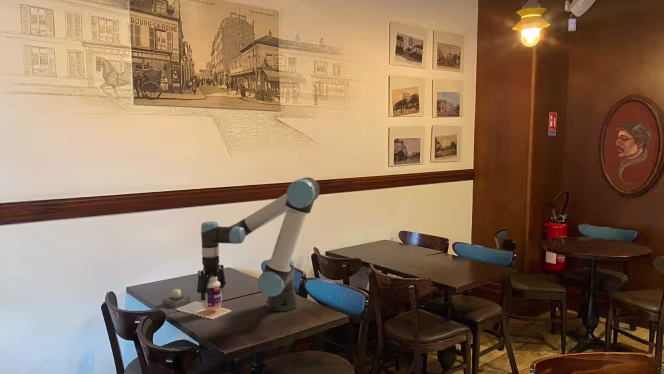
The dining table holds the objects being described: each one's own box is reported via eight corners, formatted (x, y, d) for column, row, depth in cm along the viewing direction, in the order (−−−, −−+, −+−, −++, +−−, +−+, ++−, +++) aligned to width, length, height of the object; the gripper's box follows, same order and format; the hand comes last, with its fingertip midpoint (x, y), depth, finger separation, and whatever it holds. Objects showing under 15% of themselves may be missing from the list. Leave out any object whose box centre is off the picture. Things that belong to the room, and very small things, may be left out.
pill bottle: (216, 311, 215) (215, 280, 214) (200, 310, 217) (198, 279, 215) (224, 305, 223) (223, 275, 222) (208, 304, 224) (207, 274, 223)
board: (231, 311, 222) (231, 309, 222) (212, 319, 212) (212, 318, 212) (195, 302, 235) (195, 301, 235) (176, 310, 225) (176, 308, 224)
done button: (182, 297, 234) (182, 289, 233) (175, 300, 230) (175, 292, 230) (176, 296, 236) (176, 288, 236) (169, 298, 232) (169, 290, 232)
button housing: (190, 302, 235) (189, 296, 234) (175, 308, 227) (174, 302, 227) (177, 299, 240) (177, 293, 239) (162, 305, 232) (162, 299, 232)
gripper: (221, 250, 228) (222, 296, 230) (186, 259, 211) (188, 309, 213) (232, 251, 224) (234, 298, 226) (198, 261, 207) (200, 312, 209)
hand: (212, 303), depth 220 cm, fingers closed on pill bottle, 8 cm apart
